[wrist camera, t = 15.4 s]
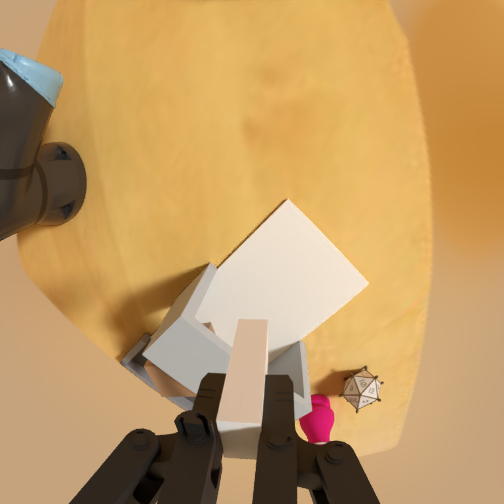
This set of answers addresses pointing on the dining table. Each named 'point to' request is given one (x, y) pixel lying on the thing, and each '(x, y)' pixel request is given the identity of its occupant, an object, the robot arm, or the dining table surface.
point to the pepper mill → (318, 420)
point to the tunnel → (258, 303)
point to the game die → (361, 389)
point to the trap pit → (136, 366)
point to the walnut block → (169, 378)
